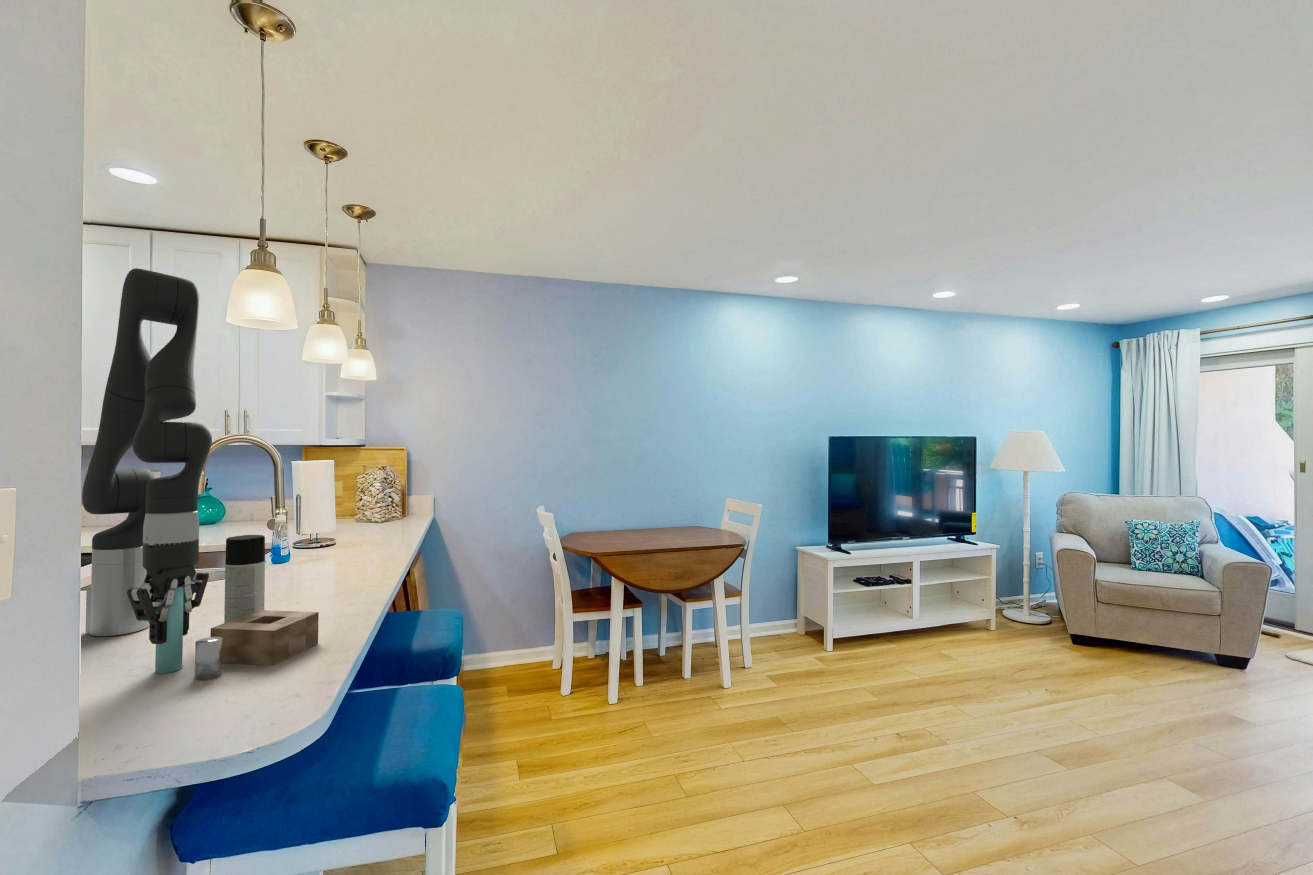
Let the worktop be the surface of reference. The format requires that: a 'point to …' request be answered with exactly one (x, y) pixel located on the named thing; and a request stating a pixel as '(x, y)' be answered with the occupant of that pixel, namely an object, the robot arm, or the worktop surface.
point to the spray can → (244, 576)
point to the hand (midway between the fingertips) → (169, 638)
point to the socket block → (267, 636)
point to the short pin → (208, 658)
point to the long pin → (172, 636)
